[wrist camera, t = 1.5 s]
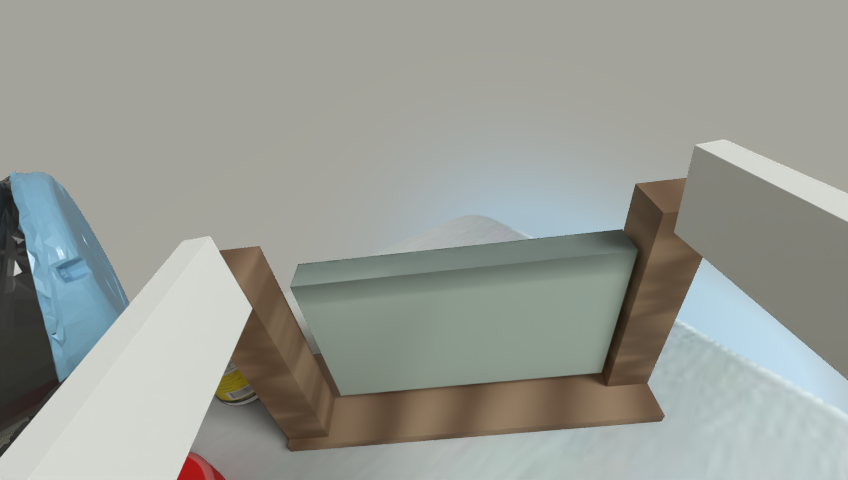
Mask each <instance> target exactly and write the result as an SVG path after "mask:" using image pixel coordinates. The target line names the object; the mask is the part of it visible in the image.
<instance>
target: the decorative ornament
mask: <svg viewBox="0 0 848 480" xmlns="http://www.w3.org/2000/svg"><path fill="white" fill-rule="evenodd" d="M177 480H225V478H224V477H223V476H222V475H221V474H220V473H219V472H218V471H217V470H216V469H214V468H213V467H212V466H211V465H210V464H209V463H208V462H207V461H206V460H204V459H203V458H202V457H200V456H199V455H197V454H195V453H192V452H189V453H188V455H187V457H186V460H185V462H184V464H183V466H182V469H181V471H180V473H179V475H178V478H177Z"/></svg>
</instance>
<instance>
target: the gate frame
mask: <svg viewBox="0 0 848 480" xmlns="http://www.w3.org/2000/svg"><path fill="white" fill-rule="evenodd" d="M686 180H687V178H683V179H673V180H664V181H656V182H647V183H638V184H636V185H635V188H634V192H633V196H632V200H631V204H630V208H629V211H628V215H627V219H626V223H625V227H624V232H625V234H626V235H627V236H628V238H629V239H630V240H631V242H632V243H633V244H634V246H635V247H636V248H637V250H638V252H637V256H636V259H635V262H634V266H633V269H632V272H631V276H630V279H629V282H628V286H627V289H626V293H625V296H624V299H623V303H622V306H621V309H620V313H619V316H618V319H617V323H616V326H615V329H614V333H613V336H612V339H611V343H610V346H609V349H608V353H607V356H606V359H605V363H604V366H603V369H602V373H590V374H579V375H568V376H557V377H546V378H534V379H523V380H512V381H501V382H489V383H478V384H467V385H456V386H444V387H433V388H422V389H411V390H399V391H388V392H377V393H366V394H355V395H343V396H341V394H340V392H339V390H338V388H337V386H336V383H335V381H334V379H333V377H332V375H331V373H330V371H329V369H328V366H327V364H326V362H325V360H324V358H323V356H322V354H316V355H313V353H312V351H311V349H310V347H309V345H308V343H307V341H306V339H305V337H304V335H303V333H302V331H301V329H300V327H299V325H298V323H297V321H296V319H295V317H294V315H293V313H292V311H291V309H290V307H289V305H288V303H287V301H286V299H285V297H284V295H283V293H282V291H281V289H280V287H279V285H278V283H277V281H276V279H275V276H274V275H273V272H272V270H271V268H270V267H269V264H268V262H267V260H266V258H265V256H264V255H263V252H262V250H261V248H260V246H257V247H248V248H239V249H231V250H221V251H219V252H220V254H221V256H222V257H223V259H224V261H225V262H226V264H227V266H228V268H229V269H230V271H231V273H232V274H233V276H234V278H235V279H236V281H237V283H238V285H239V286H240V288H241V290H242V291H243V293H244V295H245V296H246V298H247V300H248V302H249V303H250V305H251V307H252V310H251V313H250V315H249V317H248V320H247V322H246V324H245V326H244V329H243V331H242V333H241V335H240V338H239V340H238V342H237V344H236V347H235V349H234V351H233V353H232V356H231V358H230V359H231V360H232V361H233V363H234V364H235V365H236V367H237V368H238V370H239V371H240V372H241V374H242V375H243V376H244V378H245V379H246V381H247V382H248V383H249V385H250V386H251V387H252V389H253V390H254V392H255V393H256V394H257V396H258V397H259V398H260V400H261V401H262V403H263V404H264V405H265V407H266V408H267V409H268V411H269V412H270V414H271V415H272V416H273V418H274V419H275V420H276V422H277V423H278V425H279V426H280V427H281V429H282V430H283V431H284V433H285V434H286V436H287V437H288V438H289V444H288V448H289V449H290V450H291V452H292V451H304V450H316V449H328V448H341V447H353V446H365V445H377V444H389V443H402V442H414V441H426V440H438V439H450V438H463V437H475V436H487V435H499V434H511V433H524V432H536V431H548V430H560V429H573V428H585V427H597V426H609V425H621V424H634V423H646V422H658V421H662V420H663V418H664V416H665V415H664V414H663V412H662V410H661V408H660V406H659V404H658V403H657V401H656V399H655V397H654V395H653V393H652V392H651V390H650V388H649V386H648V384H647V382H648V380H649V378H650V376H651V373H652V371H653V369H654V367H655V364H656V362H657V360H658V357H659V355H660V353H661V351H662V348H663V346H664V344H665V342H666V339H667V337H668V335H669V333H670V330H671V328H672V326H673V324H674V321H675V319H676V317H677V315H678V312H679V310H680V308H681V305H682V303H683V301H684V299H685V296H686V294H687V292H688V290H689V287H690V285H691V283H692V281H693V278H694V276H695V273H696V271H697V269H698V267H699V265H700V262H701V260H702V258H703V257H702V256H701V255H700V254H699V253H698V252H696V251H695V250H694V249H693V248H692V247H690V246H689V245H688V244H687V243H686V242H685V241H683V240H682V239H681V238H680V237H679V236H678V235H676V234H675V233H674V230H675V226H676V222H677V217H678V213H679V209H680V205H681V201H682V196H683V192H684V188H685V184H686Z"/></svg>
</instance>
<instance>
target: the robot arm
mask: <svg viewBox="0 0 848 480" xmlns="http://www.w3.org/2000/svg"><path fill="white" fill-rule="evenodd" d="M674 233H675V234H676V235H678V236H679V237H680V238H681V239H682V240H683V241H685V242H686V243H687V244H688V245H689V246H690V247H692V248H693V249H694V250H695V251H696V252H698V253H699V254H700V255H701V256H702V257H703V258H705V259H706V260H707V261H708V262H709V263H711V264H712V265H713V266H714V267H715V268H716V269H718V270H719V271H720V272H721V273H722V274H723V275H725V276H726V277H727V278H728V279H729V280H731V281H732V282H733V283H734V284H735V285H736V286H738V287H739V288H740V289H741V290H742V291H743V292H745V293H746V294H747V295H748V296H749V297H750V298H752V299H753V300H754V301H755V302H756V303H758V304H759V305H760V306H761V307H762V308H763V309H765V310H766V311H767V312H768V313H769V314H771V315H772V316H773V317H774V318H775V319H776V320H778V321H779V322H780V323H781V324H782V325H783V326H785V327H786V328H787V329H788V330H789V331H790V332H792V333H793V334H794V335H795V336H797V337H798V338H799V339H800V340H801V341H802V342H804V343H805V344H806V345H807V346H808V347H809V348H811V349H812V350H813V351H814V352H815V353H816V354H818V355H819V356H820V357H821V358H822V359H823V360H825V361H826V362H827V363H828V364H829V365H831V366H832V367H833V368H834V369H835V370H836V371H838V372H839V373H840V374H841V375H842V376H844V377H845V378H846V379H847V380H848V194H847V193H845V192H843V191H841V190H838V189H836V188H834V187H832V186H829V185H827V184H825V183H823V182H820V181H818V180H816V179H813V178H811V177H809V176H807V175H804V174H802V173H800V172H797V171H795V170H793V169H791V168H788V167H786V166H784V165H782V164H779V163H777V162H775V161H773V160H770V159H768V158H766V157H763V156H761V155H759V154H757V153H754V152H752V151H750V150H748V149H745V148H743V147H741V146H738V145H736V144H734V143H732V142H729V141H727V140H725V139H724V140H718V141H713V142H708V143H702V144H697V145H695V146H694V150H693V155H692V159H691V163H690V167H689V171H688V175H687V180H686V184H685V188H684V192H683V196H682V201H681V205H680V209H679V213H678V217H677V222H676V226H675V230H674ZM251 310H252V307H251V305H250V303H249V302H248V300H247V298H246V296H245V295H244V293H243V291H242V290H241V288H240V286H239V285H238V283H237V281H236V279H235V278H234V276H233V274H232V273H231V271H230V269H229V268H228V266H227V264H226V262H225V261H224V259H223V257H222V256H221V254H220V252H219V251H218V249H217V247H216V245H215V244H214V242H213V240H212V239H211V237H210V236H207V237H202V238H196V239H191V240H186V241H183V242H182V243H181V244H180V245H179V246H178V248H177V249H176V250H175V251H174V252H173V253H172V255H171V256H170V257H169V258H168V259H167V261H166V262H165V263H164V264H163V265H162V267H161V268H160V269H159V270H158V271H157V272H156V274H155V275H154V276H153V277H152V278H151V279H150V281H149V282H148V283H147V284H146V286H145V287H144V288H143V289H142V290H141V291H140V293H139V294H138V295H137V296H136V297H135V298H134V300H133V301H132V302H131V303H130V304H129V302H128V299H127V297H126V295H125V292H124V290H123V288H122V286H121V284H120V282H119V280H118V278H117V276H116V273H115V271H114V269H113V267H112V265H111V264H110V262H109V260H108V258H107V256H106V254H105V252H104V250H103V249H102V247H101V245H100V243H99V241H98V240H97V238H96V236H95V234H94V233H93V231H92V229H91V227H90V226H89V224H88V222H87V221H86V219H85V218H84V216H83V214H82V213H81V211H80V210H79V208H78V207H77V205H76V204H75V202H74V201H73V199H72V198H71V197H70V196H69V194H68V192H67V191H66V190H65V189H64V187H63V186H62V185H61V184H59V183H58V182H57V181H55V179H54V178H53V177H52V176H51V175H48V174H46V173H44V172H32V173H16V172H15V173H12V174H10V176H9V177H7V178H5V179H4V180H2V181H0V438H2V437H4V436H6V435H7V434H9V433H11V432H13V431H15V430H16V431H15V432H14V434H13V435H12V436H11V437H10V438H9V439H10V442H9V443H8V444H4V445H3V446H2V448H1V449H0V480H177V478H178V475H179V473H180V471H181V469H182V466H183V464H184V462H185V460H186V457H187V455H188V453H189V451H190V448H191V446H192V444H193V442H194V439H195V437H196V435H197V433H198V430H199V428H200V426H201V423H202V421H203V419H204V417H205V414H206V412H207V410H208V408H209V405H210V403H211V401H212V399H213V396H214V394H215V392H216V390H217V387H218V385H219V383H220V381H221V378H222V376H223V374H224V371H225V369H226V367H227V365H228V362H229V360H230V358H231V356H232V353H233V351H234V349H235V347H236V344H237V342H238V340H239V338H240V335H241V333H242V331H243V329H244V326H245V324H246V322H247V320H248V317H249V315H250V313H251Z"/></svg>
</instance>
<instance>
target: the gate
mask: <svg viewBox="0 0 848 480" xmlns="http://www.w3.org/2000/svg"><path fill="white" fill-rule="evenodd" d="M637 252H638V250H637V248H636V247H635V246H634V244H633V243H632V242H631V240H630V239H629V238H628V236H627V235H626V234H625V232H624V231H623V230H622V229H621V230H612V231H602V232H593V233H585V234H575V235H565V236H557V237H547V238H537V239H528V240H519V241H510V242H500V243H491V244H482V245H472V246H463V247H454V248H445V249H435V250H426V251H417V252H408V253H398V254H389V255H380V256H370V257H361V258H352V259H343V260H333V261H324V262H315V263H306V264H298V266H297V269H296V272H295V274H294V277H293V280H292V283H291V285H290V288H291V290H292V292H293V294H294V296H295V299H296V301H297V303H298V305H299V307H300V309H301V311H302V313H303V316H304V318H305V320H306V322H307V324H308V326H309V328H310V330H311V333H312V335H313V337H314V339H315V341H316V343H317V345H318V347H319V349H320V352H321V354H322V356H323V358H324V360H325V362H326V364H327V366H328V369H329V371H330V373H331V375H332V377H333V379H334V381H335V383H336V386H337V388H338V390H339V392H340V394H341V396H343V395H355V394H366V393H377V392H388V391H399V390H411V389H422V388H433V387H444V386H456V385H467V384H478V383H489V382H501V381H512V380H523V379H534V378H546V377H557V376H568V375H579V374H590V373H602V369H603V366H604V363H605V359H606V356H607V353H608V349H609V346H610V343H611V339H612V336H613V333H614V329H615V326H616V323H617V319H618V316H619V313H620V309H621V306H622V303H623V299H624V296H625V293H626V289H627V286H628V282H629V279H630V276H631V272H632V269H633V266H634V262H635V259H636V256H637Z"/></svg>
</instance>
